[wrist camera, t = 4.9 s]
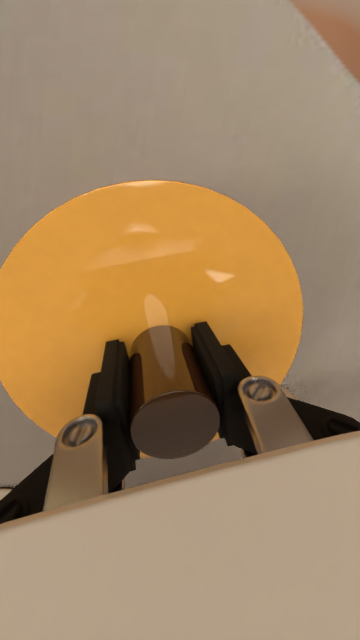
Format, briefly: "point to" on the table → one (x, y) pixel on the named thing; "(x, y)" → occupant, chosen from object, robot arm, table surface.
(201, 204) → the lid
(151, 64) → the table surface
